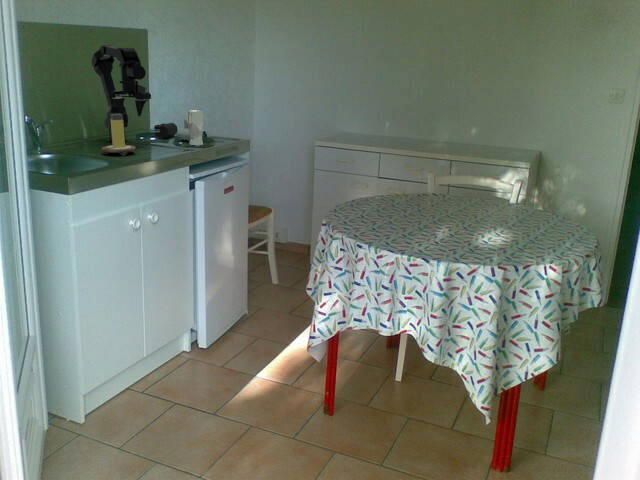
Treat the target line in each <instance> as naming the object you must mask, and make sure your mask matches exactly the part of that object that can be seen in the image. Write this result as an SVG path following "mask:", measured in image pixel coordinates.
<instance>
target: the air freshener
mask: <svg viewBox="0 0 640 480" xmlns="http://www.w3.org/2000/svg"><path fill="white" fill-rule="evenodd" d="M183 123H184V124H183V125H184V126H183V128H182V129H180V130H179V132H178V133H179V134H178V136H179V137H180V139H181V140H183V139H188V140H190V134H189V129H188V123H187V118H184V119H183ZM203 137H204V132H203V131H202V138H203Z"/></svg>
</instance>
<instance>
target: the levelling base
mask: <svg viewBox="0 0 640 480" xmlns="http://www.w3.org/2000/svg"><path fill="white" fill-rule="evenodd" d="M101 151H102V153H103V154H104V155H109V154H110V153H118V154H119V155H120V156H121V155H122V156H121V157H125V155H126V156H127V155H128V153H131V152H135V151H136V146H135V145H131V144H125V147H122V148H114V147H113V144H111V145H105V146H102V147H101Z"/></svg>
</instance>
